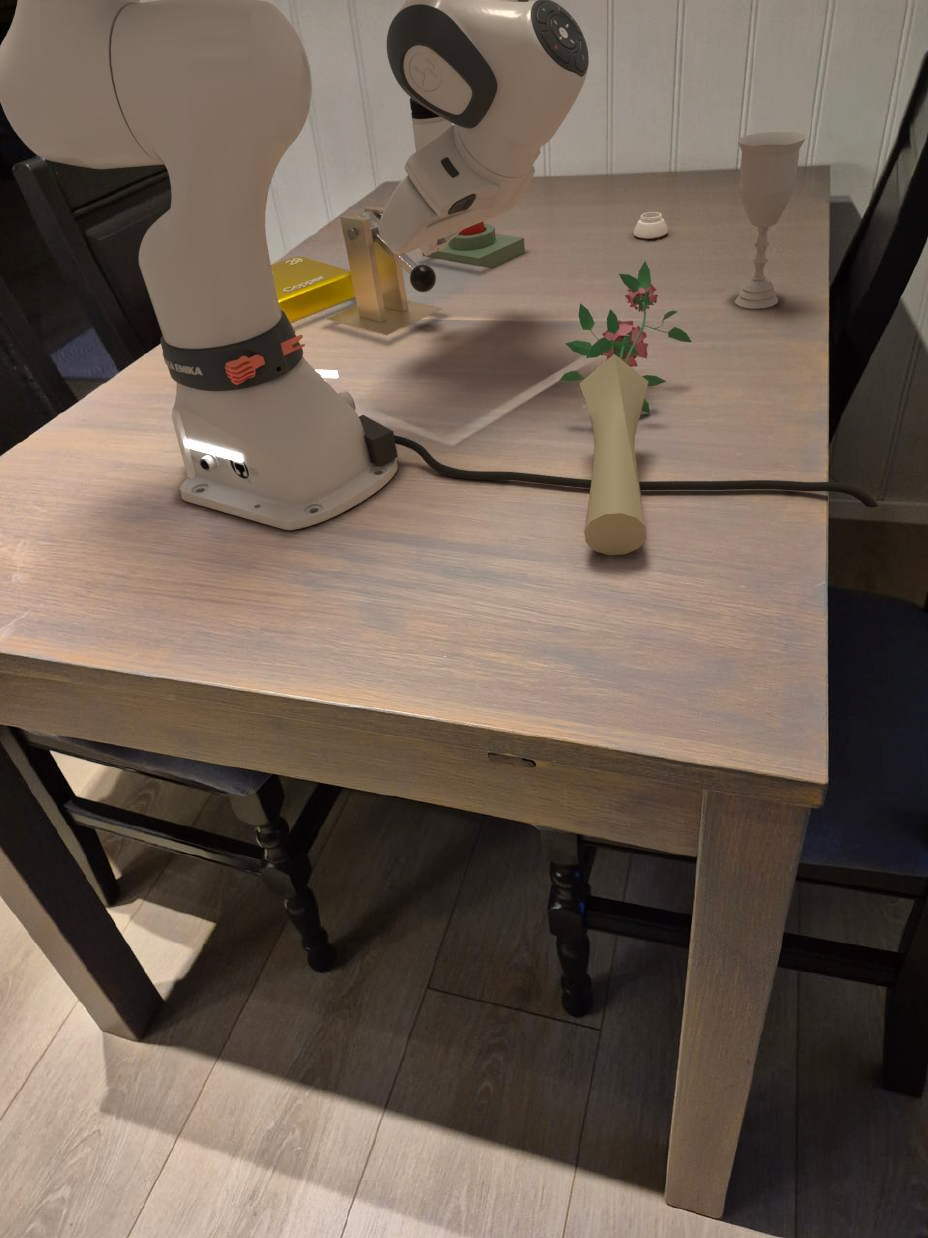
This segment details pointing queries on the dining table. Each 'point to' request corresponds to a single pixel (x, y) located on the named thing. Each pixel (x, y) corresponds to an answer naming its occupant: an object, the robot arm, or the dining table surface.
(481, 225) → the button
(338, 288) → the element tile
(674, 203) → the dining table surface
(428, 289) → the lever
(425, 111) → the travel mug
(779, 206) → the chalice
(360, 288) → the bracket
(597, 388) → the flower vase
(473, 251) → the button block
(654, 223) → the white jar
